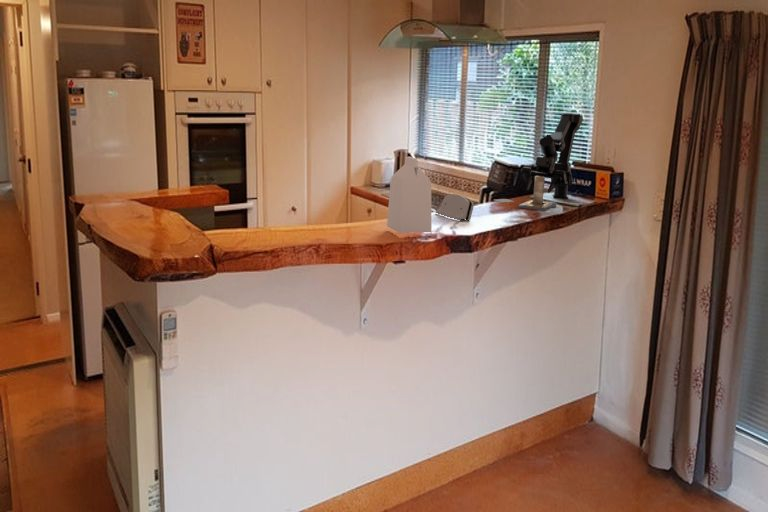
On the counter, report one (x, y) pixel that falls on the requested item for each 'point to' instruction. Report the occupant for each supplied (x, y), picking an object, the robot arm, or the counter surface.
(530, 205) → the rack plate
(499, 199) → the pad
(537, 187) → the peg
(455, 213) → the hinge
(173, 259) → the counter surface
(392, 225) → the milk
